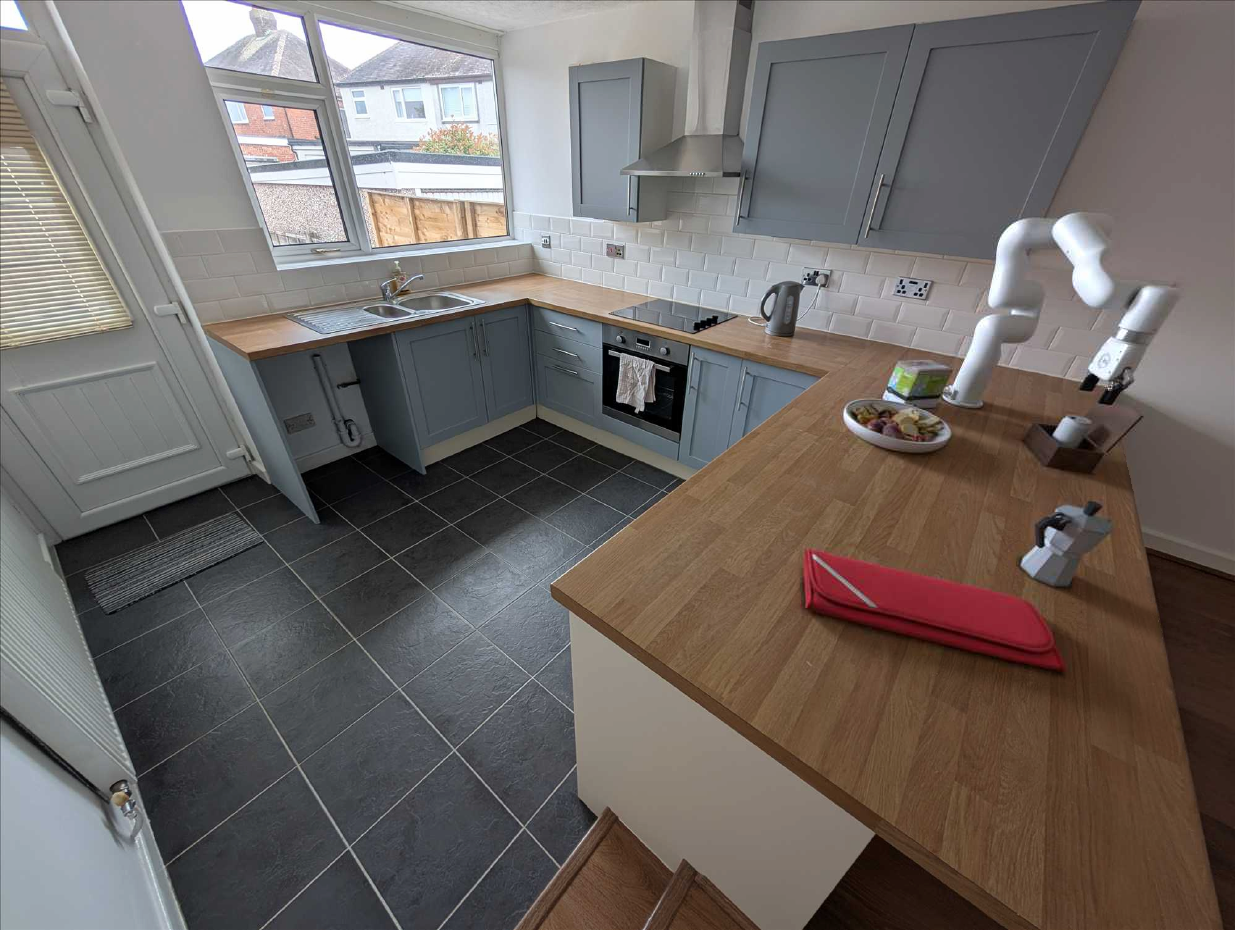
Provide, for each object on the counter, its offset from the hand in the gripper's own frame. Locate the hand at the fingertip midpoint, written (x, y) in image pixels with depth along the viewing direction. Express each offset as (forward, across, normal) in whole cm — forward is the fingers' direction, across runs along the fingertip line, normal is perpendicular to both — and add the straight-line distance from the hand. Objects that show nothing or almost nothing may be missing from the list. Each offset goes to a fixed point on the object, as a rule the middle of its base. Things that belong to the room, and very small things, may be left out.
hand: (1094, 397), depth 132 cm
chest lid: (+6, 0, +6) cm, 9 cm away
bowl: (+19, +2, -47) cm, 51 cm away
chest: (+20, 0, 0) cm, 20 cm away
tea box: (+19, -26, -36) cm, 48 cm away
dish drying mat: (+20, +80, -56) cm, 99 cm away
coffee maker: (+20, +60, -28) cm, 69 cm away
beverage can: (+19, 0, 0) cm, 19 cm away
